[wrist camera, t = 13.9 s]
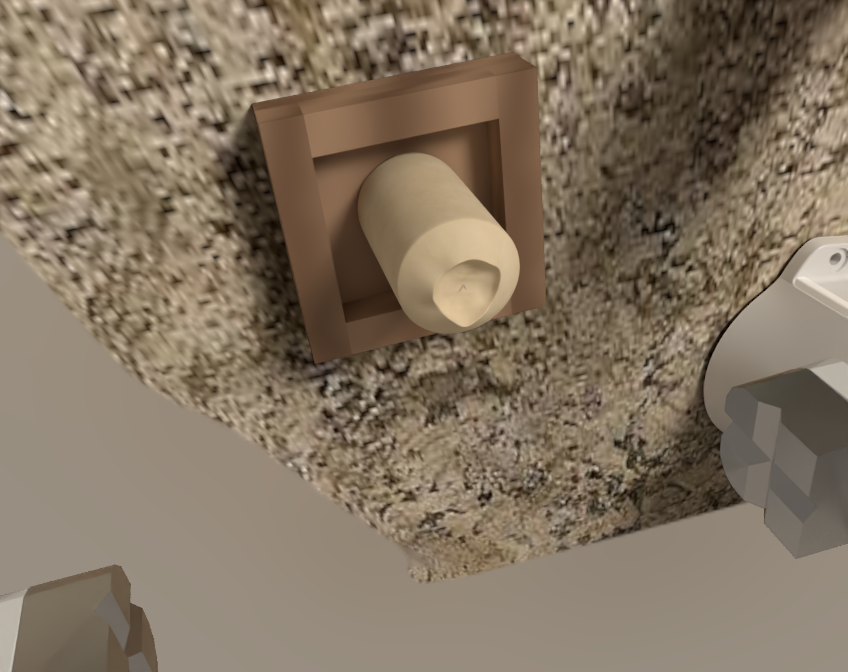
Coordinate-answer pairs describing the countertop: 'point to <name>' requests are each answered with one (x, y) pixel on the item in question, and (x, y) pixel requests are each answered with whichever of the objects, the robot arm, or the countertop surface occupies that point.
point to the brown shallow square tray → (376, 142)
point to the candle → (436, 244)
